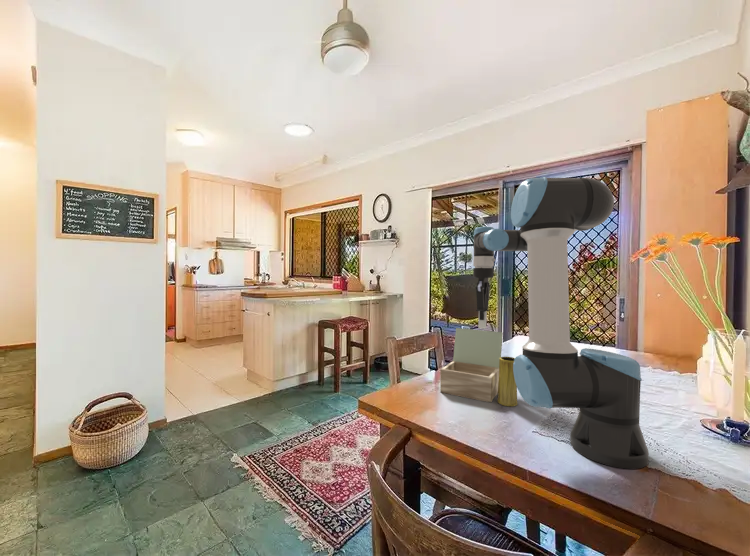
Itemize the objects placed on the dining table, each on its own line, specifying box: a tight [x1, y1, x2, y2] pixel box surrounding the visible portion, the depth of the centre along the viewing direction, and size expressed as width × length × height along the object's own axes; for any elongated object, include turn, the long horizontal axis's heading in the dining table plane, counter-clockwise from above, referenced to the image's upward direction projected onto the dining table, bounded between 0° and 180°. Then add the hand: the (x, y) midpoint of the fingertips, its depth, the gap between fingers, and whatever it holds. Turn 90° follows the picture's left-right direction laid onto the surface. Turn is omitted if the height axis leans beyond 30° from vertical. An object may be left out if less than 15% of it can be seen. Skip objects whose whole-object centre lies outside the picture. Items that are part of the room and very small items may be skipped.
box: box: [439, 360, 499, 403], centre depth 119 cm, size 13×17×8 cm
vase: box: [496, 356, 518, 407], centre depth 109 cm, size 6×6×14 cm
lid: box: [452, 327, 504, 368], centre depth 126 cm, size 12×17×1 cm
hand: (482, 328), depth 132 cm, fingers closed
